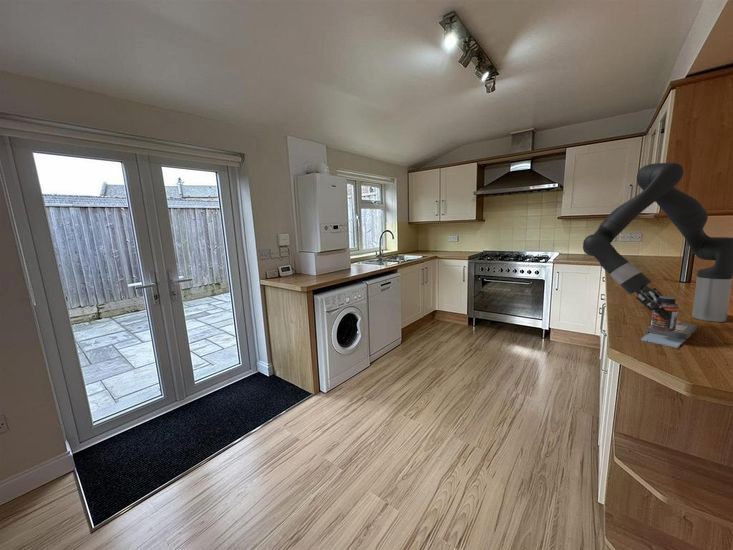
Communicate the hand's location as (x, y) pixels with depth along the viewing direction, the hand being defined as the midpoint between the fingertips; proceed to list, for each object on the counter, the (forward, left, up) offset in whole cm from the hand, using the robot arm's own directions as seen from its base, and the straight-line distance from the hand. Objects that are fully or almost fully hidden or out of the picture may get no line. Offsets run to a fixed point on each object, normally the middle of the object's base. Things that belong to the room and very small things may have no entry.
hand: (671, 316), depth 99 cm
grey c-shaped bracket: (-16, -2, -9) cm, 18 cm away
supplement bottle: (0, -2, -5) cm, 5 cm away
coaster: (0, -2, -9) cm, 9 cm away
